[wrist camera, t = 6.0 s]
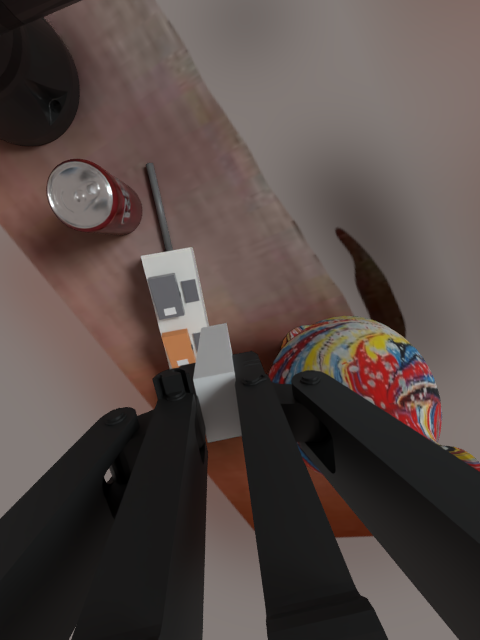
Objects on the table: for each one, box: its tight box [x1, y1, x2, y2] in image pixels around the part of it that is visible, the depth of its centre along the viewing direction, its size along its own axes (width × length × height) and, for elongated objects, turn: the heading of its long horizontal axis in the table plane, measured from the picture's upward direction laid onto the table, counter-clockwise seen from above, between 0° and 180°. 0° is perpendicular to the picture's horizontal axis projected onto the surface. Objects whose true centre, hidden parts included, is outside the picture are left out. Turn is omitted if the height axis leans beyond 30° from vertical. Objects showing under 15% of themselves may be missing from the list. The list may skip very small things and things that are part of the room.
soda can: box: [46, 159, 142, 235], centre depth 35 cm, size 7×7×12 cm
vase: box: [269, 316, 480, 476], centre depth 35 cm, size 19×19×30 cm
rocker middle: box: [162, 328, 196, 368], centre depth 41 cm, size 6×4×1 cm, turn 10°
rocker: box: [147, 273, 185, 320], centre depth 39 cm, size 6×4×1 cm, turn 9°
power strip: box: [141, 163, 209, 369], centre depth 43 cm, size 40×7×5 cm, turn 10°
